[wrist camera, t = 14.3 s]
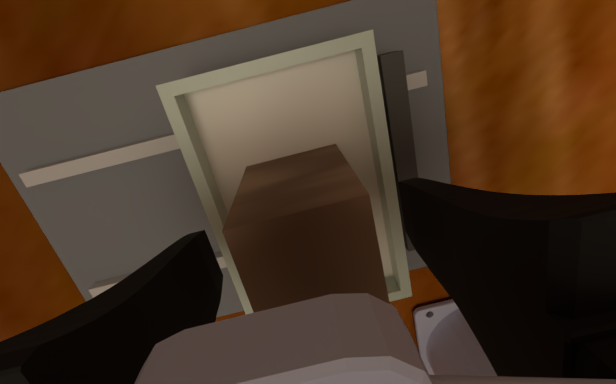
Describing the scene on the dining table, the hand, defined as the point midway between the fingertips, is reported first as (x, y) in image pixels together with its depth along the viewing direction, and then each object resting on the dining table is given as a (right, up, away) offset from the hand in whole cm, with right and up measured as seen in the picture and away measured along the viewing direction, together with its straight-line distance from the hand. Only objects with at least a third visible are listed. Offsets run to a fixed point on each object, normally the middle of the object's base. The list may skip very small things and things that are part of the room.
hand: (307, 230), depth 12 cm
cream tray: (0, +2, +5) cm, 5 cm away
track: (-3, +2, +6) cm, 7 cm away
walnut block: (0, +1, +3) cm, 3 cm away
